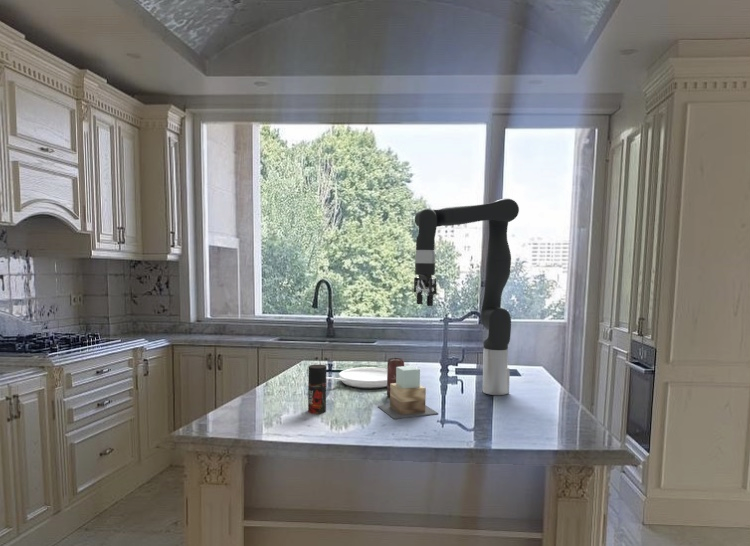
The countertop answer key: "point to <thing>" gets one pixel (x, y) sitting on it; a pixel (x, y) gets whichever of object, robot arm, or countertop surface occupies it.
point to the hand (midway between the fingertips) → (424, 305)
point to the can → (392, 371)
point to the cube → (407, 377)
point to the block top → (407, 393)
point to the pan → (364, 377)
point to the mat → (396, 415)
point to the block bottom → (407, 406)
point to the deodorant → (317, 389)
